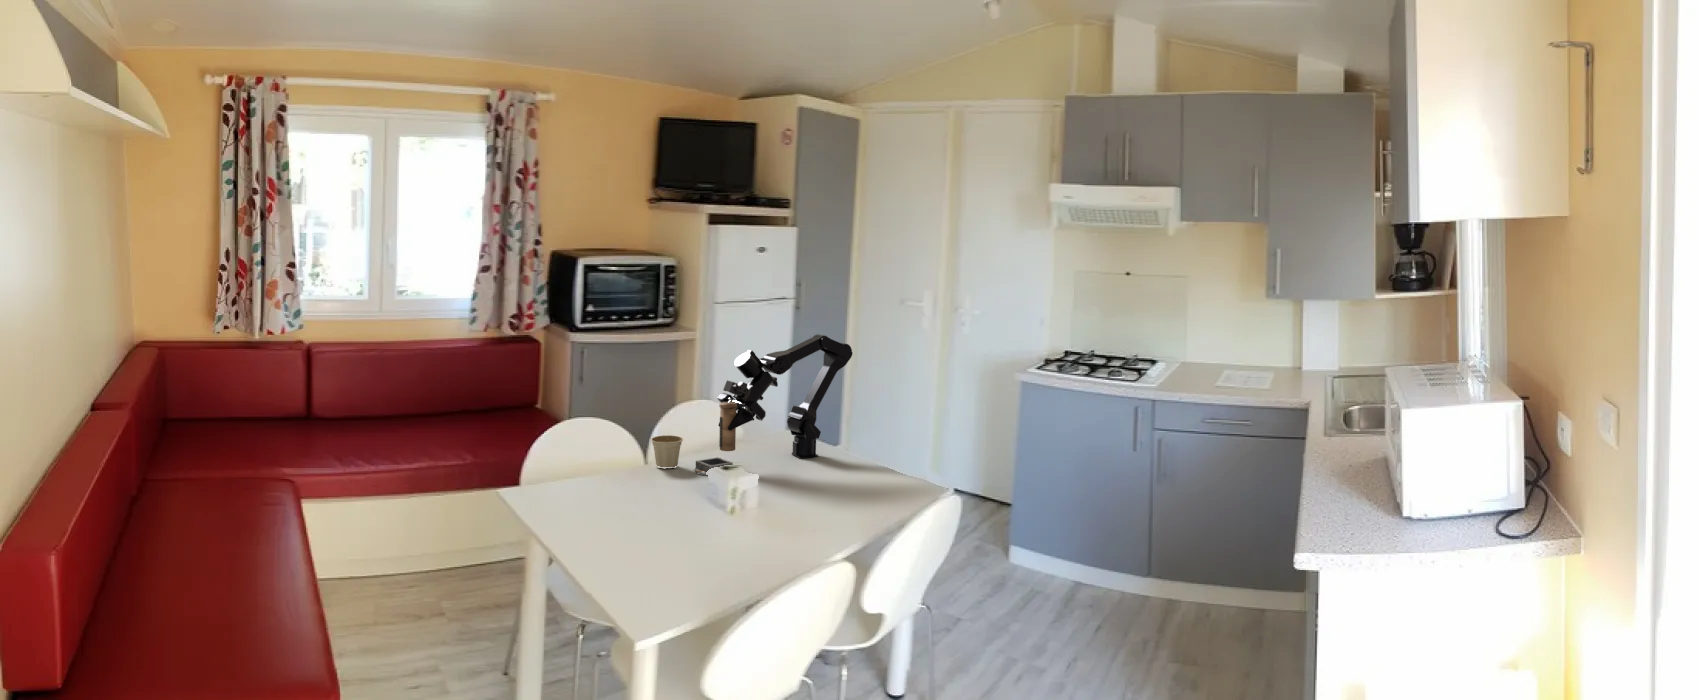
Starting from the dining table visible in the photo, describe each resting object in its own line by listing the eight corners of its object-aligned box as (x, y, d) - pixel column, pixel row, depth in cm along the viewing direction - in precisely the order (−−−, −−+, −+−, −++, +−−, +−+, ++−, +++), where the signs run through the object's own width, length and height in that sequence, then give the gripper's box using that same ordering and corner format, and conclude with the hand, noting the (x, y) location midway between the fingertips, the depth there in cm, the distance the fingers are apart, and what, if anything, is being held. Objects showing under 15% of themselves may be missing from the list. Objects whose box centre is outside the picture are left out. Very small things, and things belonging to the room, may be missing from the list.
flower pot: (679, 471, 300) (679, 442, 299) (647, 470, 300) (647, 441, 299) (685, 463, 310) (685, 435, 308) (654, 462, 310) (654, 434, 309)
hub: (720, 464, 310) (720, 455, 310) (741, 472, 301) (741, 463, 301) (686, 469, 303) (686, 460, 302) (707, 478, 294) (707, 468, 294)
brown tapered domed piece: (730, 446, 308) (730, 401, 306) (739, 450, 304) (740, 404, 302) (715, 448, 304) (716, 403, 303) (724, 452, 300) (725, 406, 299)
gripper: (723, 366, 311) (691, 405, 305) (758, 375, 296) (725, 416, 291) (744, 389, 317) (713, 428, 311) (779, 399, 302) (747, 440, 297)
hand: (724, 428), depth 302 cm, fingers closed on brown tapered domed piece, 5 cm apart
